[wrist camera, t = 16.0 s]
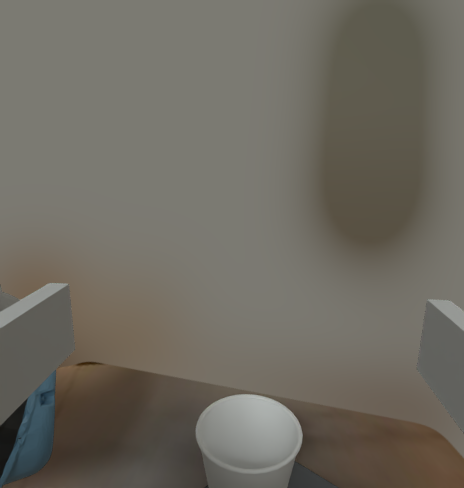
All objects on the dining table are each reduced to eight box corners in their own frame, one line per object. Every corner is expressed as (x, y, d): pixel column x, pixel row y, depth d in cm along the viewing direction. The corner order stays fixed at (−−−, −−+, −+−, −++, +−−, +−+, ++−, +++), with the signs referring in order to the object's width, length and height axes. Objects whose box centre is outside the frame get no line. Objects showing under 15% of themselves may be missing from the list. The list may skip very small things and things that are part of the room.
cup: (175, 523, 36) (172, 429, 33) (240, 463, 43) (242, 381, 40) (253, 605, 29) (258, 495, 27) (314, 517, 37) (322, 425, 34)
